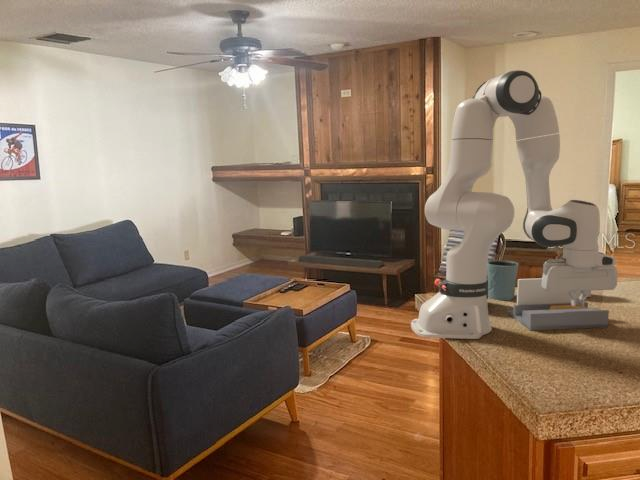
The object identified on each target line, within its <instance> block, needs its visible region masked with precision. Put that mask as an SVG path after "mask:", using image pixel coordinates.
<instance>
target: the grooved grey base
mask: <svg viewBox="0 0 640 480" xmlns="http://www.w3.org/2000/svg"><path fill="white" fill-rule="evenodd" d="M558 305H571V303H553V304H527V305H517V303H515V304H513V309H508V310H507V313H508V315H509V316H511V317H512V318H514V319H515V320H516V321H517V322H519V323H520V324H521V325H522V326H524V327H525V328H527V329H528V330H529V331H546V330H572V329H573V330H574V329H595V328H596V329H598V328H601V329H602V328H608V327H609V314H610V311H609V310H608V309H601V308H599V307H589V303H588V302H587V301H584V306H585V307H586V308H579V309H553V310H549V308H550V307H551V306H558Z"/></svg>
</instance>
